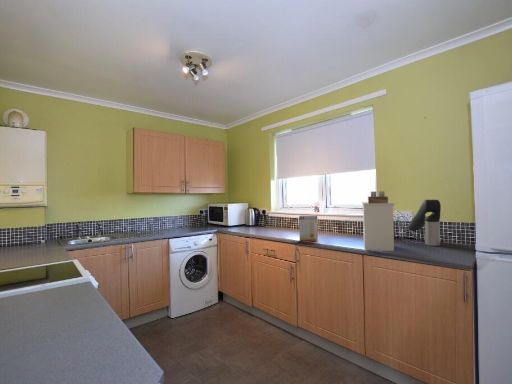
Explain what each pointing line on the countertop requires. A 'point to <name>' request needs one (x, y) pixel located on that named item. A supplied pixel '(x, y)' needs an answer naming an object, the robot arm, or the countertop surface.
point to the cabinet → (378, 226)
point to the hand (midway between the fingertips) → (373, 204)
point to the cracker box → (308, 228)
